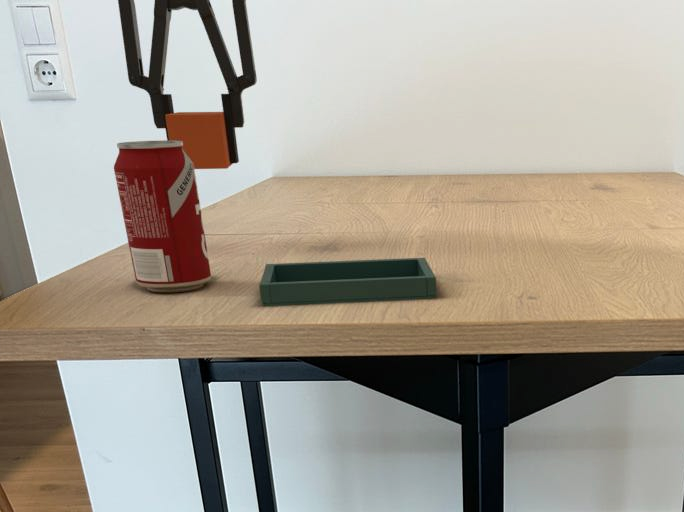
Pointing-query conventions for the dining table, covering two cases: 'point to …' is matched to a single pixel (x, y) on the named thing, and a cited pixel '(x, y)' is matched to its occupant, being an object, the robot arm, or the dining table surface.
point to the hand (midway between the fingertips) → (205, 162)
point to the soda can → (162, 216)
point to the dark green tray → (347, 281)
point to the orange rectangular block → (201, 137)
